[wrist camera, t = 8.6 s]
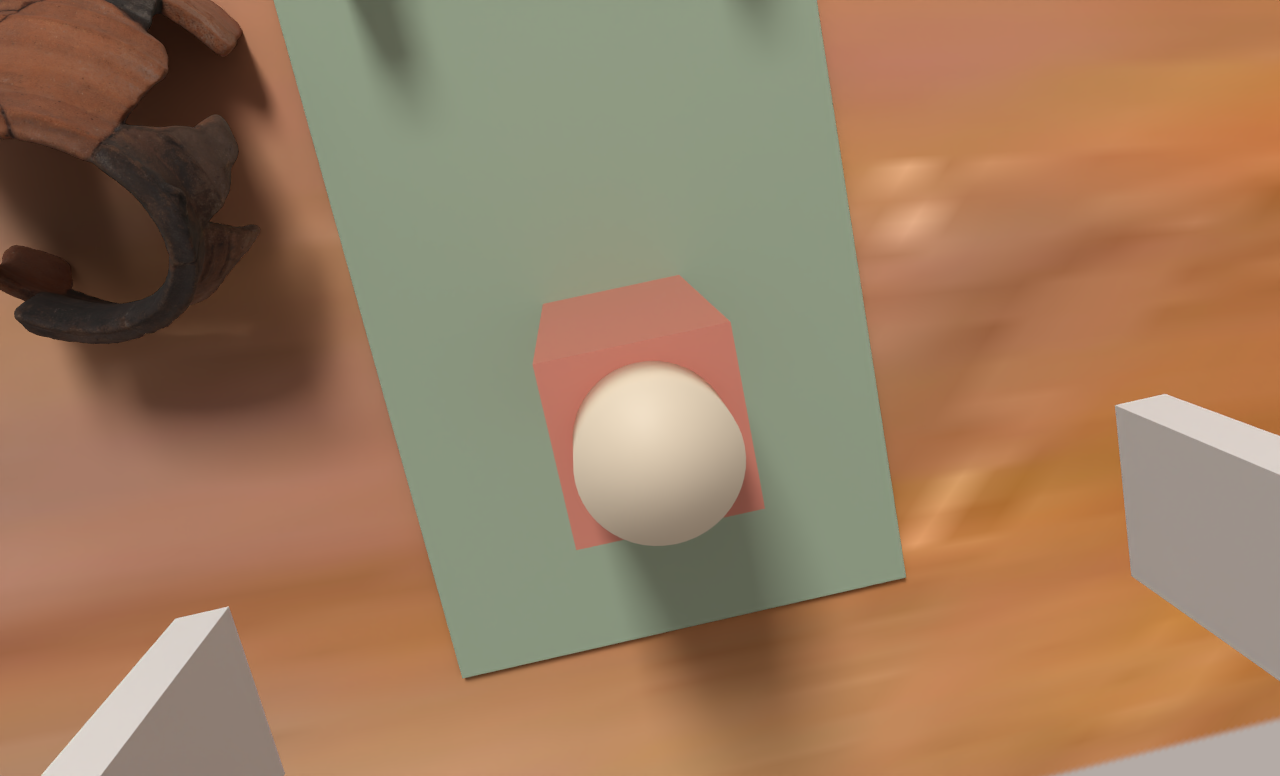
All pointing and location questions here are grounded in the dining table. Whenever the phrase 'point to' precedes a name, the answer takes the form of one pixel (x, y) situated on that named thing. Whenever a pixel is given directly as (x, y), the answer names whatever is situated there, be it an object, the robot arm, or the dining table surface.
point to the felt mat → (598, 287)
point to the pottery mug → (117, 153)
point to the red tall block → (645, 414)
